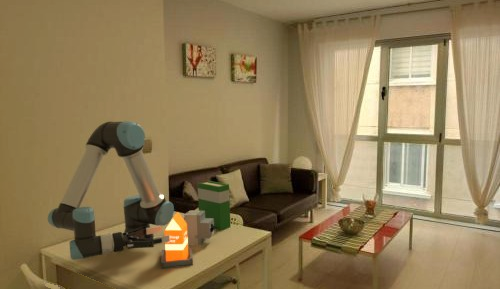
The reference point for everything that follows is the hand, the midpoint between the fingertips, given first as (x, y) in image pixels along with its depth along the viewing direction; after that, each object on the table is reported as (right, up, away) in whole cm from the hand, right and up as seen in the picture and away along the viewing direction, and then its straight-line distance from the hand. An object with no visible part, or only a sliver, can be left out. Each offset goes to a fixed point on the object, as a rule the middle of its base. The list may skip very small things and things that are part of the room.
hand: (165, 233), depth 156 cm
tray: (+4, -13, +4) cm, 14 cm away
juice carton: (+5, -12, +3) cm, 14 cm away
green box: (+16, -8, +49) cm, 52 cm away
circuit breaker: (+12, -11, +24) cm, 29 cm away
